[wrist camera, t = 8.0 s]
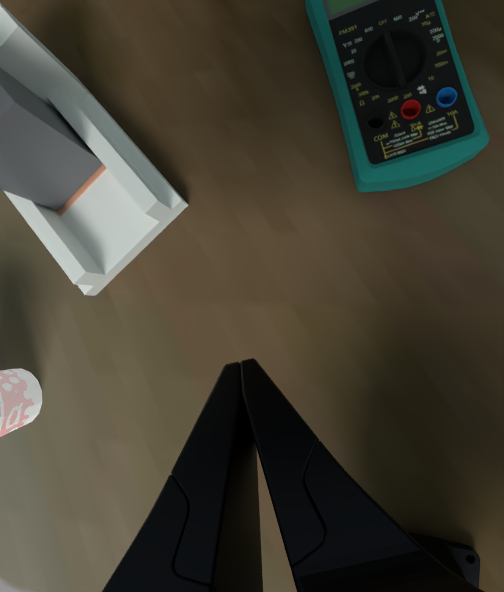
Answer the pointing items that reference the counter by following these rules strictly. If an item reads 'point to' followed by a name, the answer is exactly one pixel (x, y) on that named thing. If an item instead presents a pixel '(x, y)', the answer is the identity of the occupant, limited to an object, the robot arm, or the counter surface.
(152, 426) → the counter surface
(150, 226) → the knob mount
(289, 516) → the robot arm
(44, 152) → the knob
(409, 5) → the digital multimeter
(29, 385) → the beverage cup
